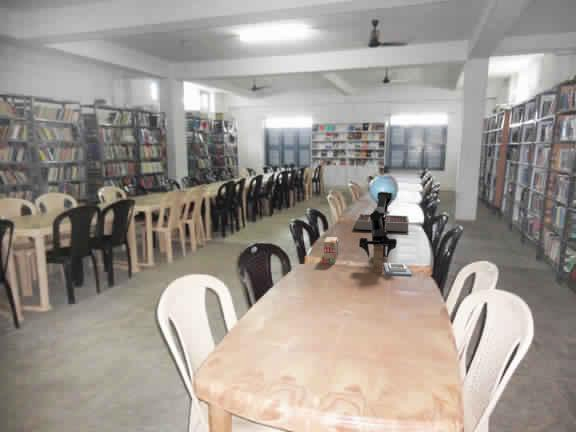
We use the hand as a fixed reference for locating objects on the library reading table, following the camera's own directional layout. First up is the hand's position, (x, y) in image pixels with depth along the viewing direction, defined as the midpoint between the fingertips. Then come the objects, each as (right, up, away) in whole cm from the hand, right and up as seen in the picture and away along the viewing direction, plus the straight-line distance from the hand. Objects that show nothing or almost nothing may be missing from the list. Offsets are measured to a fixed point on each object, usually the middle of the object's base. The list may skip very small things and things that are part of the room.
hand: (378, 257), depth 200 cm
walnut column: (0, -7, +2) cm, 7 cm away
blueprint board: (+11, -7, +3) cm, 13 cm away
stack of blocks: (-21, -4, +25) cm, 33 cm away
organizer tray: (+28, +11, +110) cm, 114 cm away
